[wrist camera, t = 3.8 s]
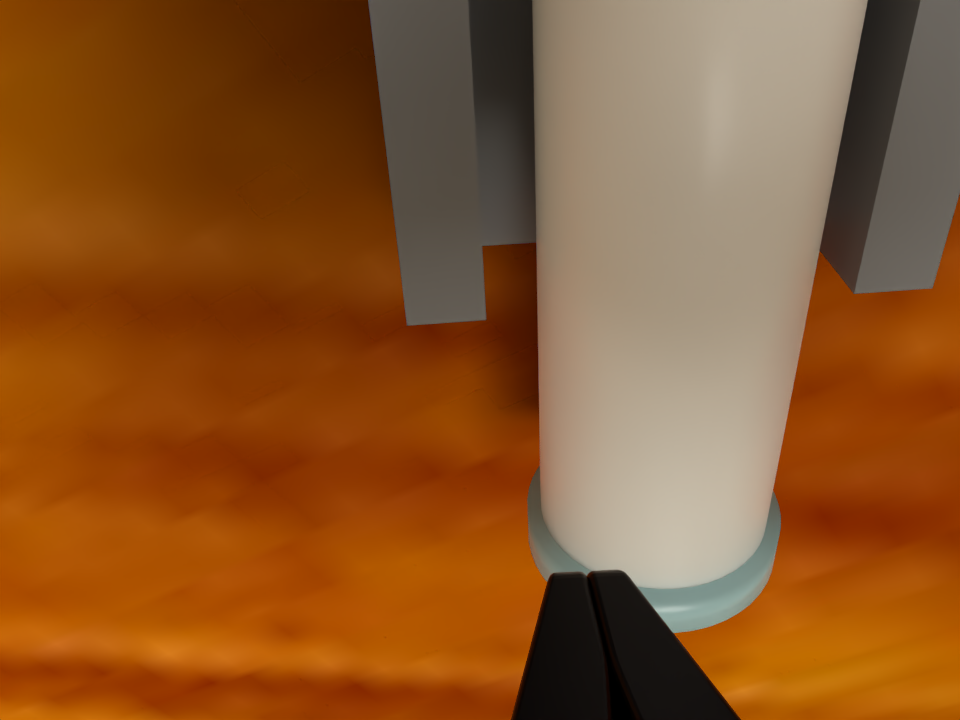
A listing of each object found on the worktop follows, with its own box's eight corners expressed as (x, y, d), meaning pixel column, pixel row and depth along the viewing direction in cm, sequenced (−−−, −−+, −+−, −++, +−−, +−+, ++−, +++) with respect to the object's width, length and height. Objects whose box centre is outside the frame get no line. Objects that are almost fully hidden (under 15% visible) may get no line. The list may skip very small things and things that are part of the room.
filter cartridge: (872, -479, 12) (1133, -616, 8) (733, 445, 23) (811, 622, 18) (485, -456, 12) (519, -579, 8) (518, 461, 22) (542, 642, 18)
